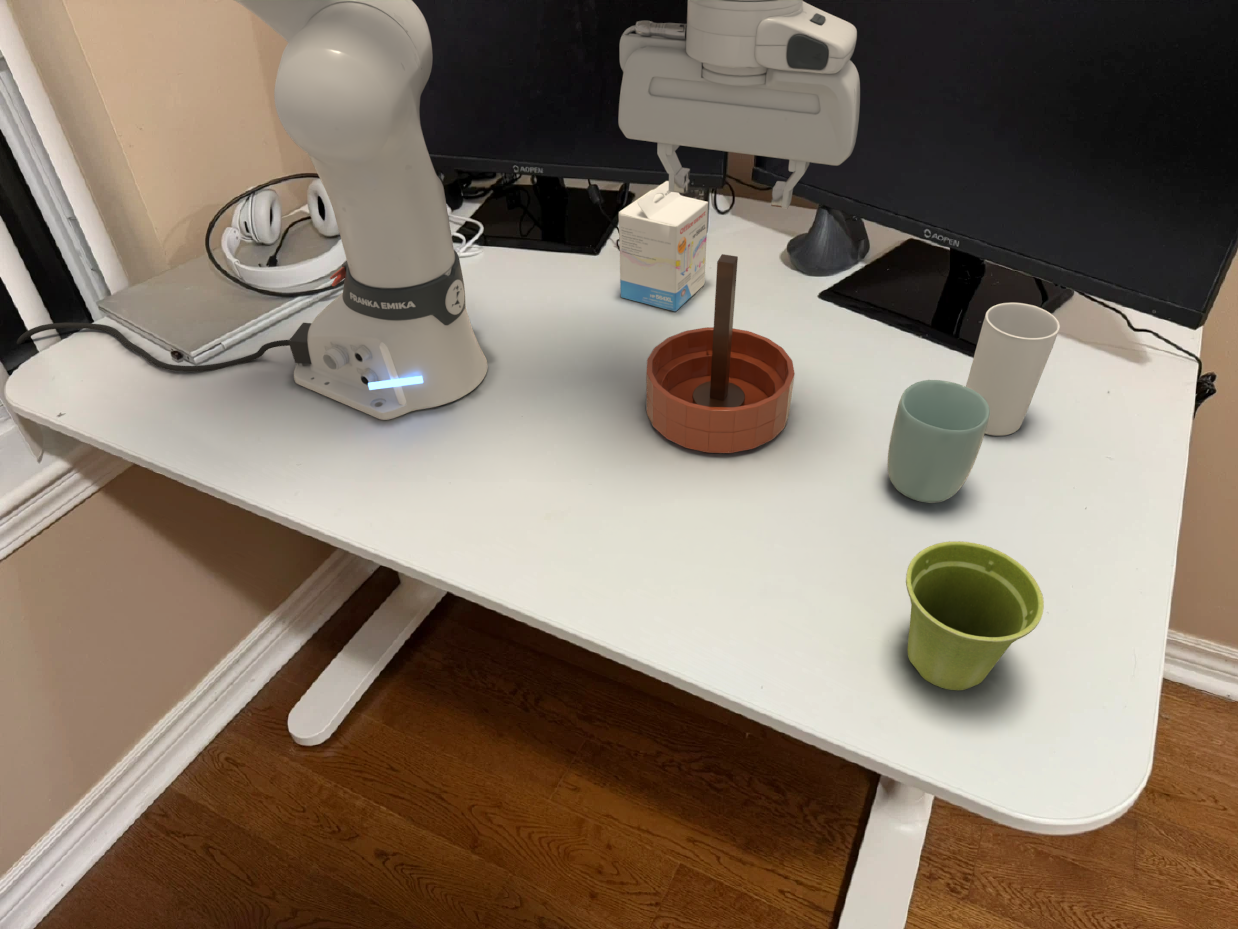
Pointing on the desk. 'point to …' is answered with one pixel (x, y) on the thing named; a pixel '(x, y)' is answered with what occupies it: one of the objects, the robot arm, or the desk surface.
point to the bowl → (689, 365)
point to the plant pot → (967, 611)
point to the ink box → (662, 248)
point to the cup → (936, 439)
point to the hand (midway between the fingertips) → (729, 197)
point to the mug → (1011, 361)
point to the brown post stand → (722, 342)
